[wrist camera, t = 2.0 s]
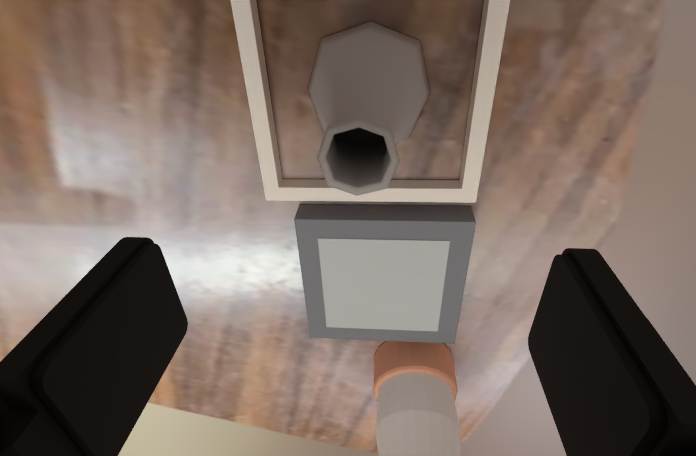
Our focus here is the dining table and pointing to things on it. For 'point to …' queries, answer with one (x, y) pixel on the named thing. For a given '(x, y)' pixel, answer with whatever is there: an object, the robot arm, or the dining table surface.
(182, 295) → the dining table surface
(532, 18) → the dining table surface
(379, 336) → the slate pad
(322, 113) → the flask
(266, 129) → the tray frame
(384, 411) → the salt shaker
